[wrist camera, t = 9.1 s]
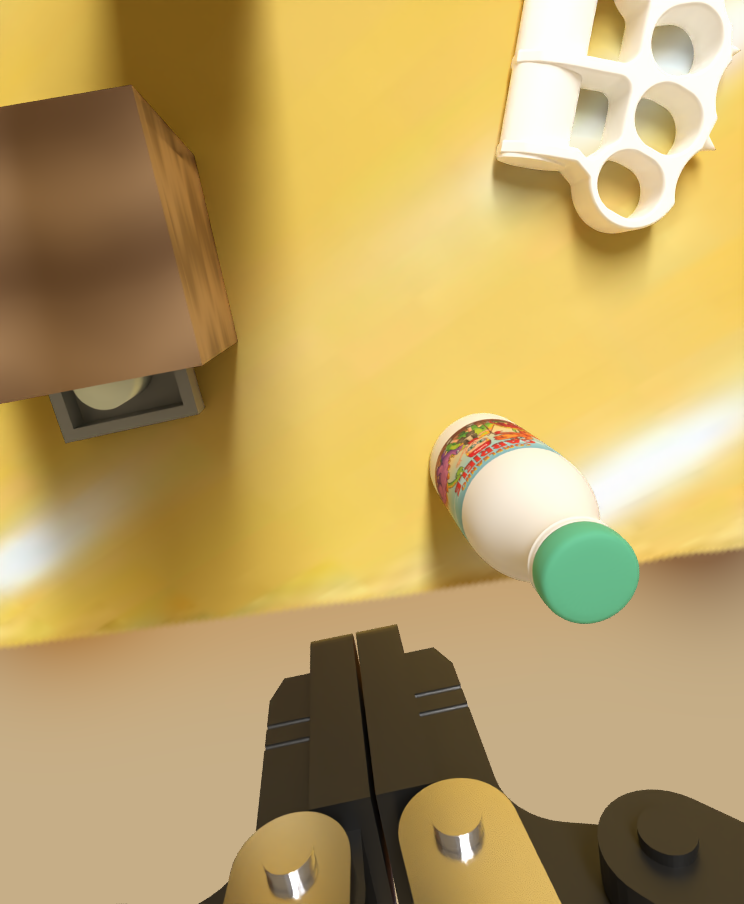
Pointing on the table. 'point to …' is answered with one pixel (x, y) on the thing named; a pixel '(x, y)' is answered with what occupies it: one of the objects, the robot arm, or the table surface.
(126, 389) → the cream piece
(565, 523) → the milk bottle
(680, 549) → the table surface
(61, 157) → the brown wooden cube
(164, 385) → the tray
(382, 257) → the table surface
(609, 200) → the table surface
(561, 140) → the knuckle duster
